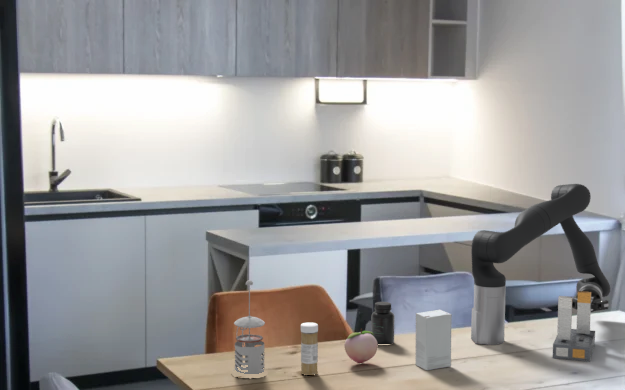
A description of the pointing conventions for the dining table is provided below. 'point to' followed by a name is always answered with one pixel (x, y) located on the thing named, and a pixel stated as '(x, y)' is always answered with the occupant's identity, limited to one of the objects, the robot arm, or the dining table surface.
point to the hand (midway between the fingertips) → (585, 309)
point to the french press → (249, 344)
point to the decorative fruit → (361, 346)
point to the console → (575, 346)
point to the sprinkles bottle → (309, 348)
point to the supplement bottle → (383, 323)
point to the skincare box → (433, 339)
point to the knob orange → (583, 312)
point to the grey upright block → (564, 317)
